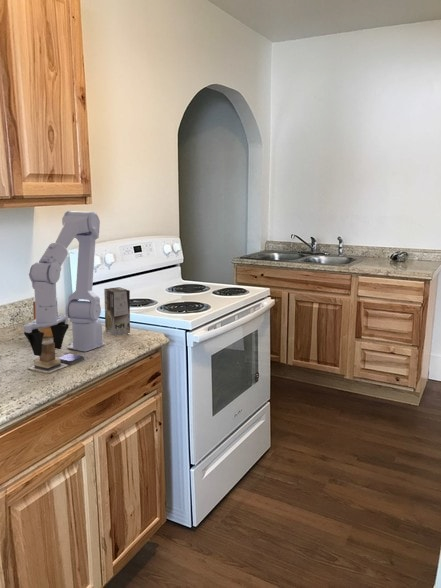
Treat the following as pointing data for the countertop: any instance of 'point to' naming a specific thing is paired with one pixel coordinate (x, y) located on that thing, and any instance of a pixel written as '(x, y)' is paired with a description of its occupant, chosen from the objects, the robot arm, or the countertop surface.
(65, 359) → the ink pad
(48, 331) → the small box
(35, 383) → the countertop surface
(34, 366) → the print mark
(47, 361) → the stamp
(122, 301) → the coffee box
